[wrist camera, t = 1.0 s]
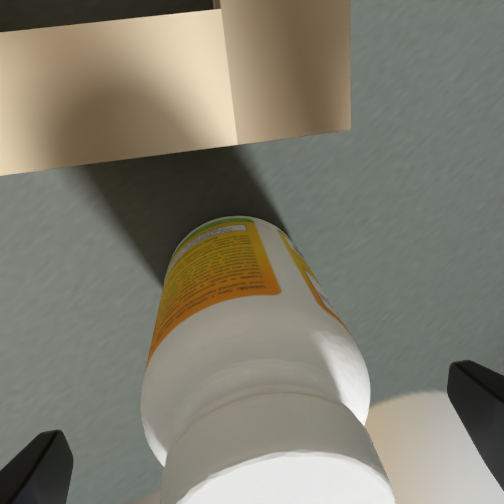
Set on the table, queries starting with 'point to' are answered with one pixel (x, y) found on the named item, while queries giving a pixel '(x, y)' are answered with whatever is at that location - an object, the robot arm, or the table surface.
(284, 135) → the socket block
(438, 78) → the table surface
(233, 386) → the supplement bottle
